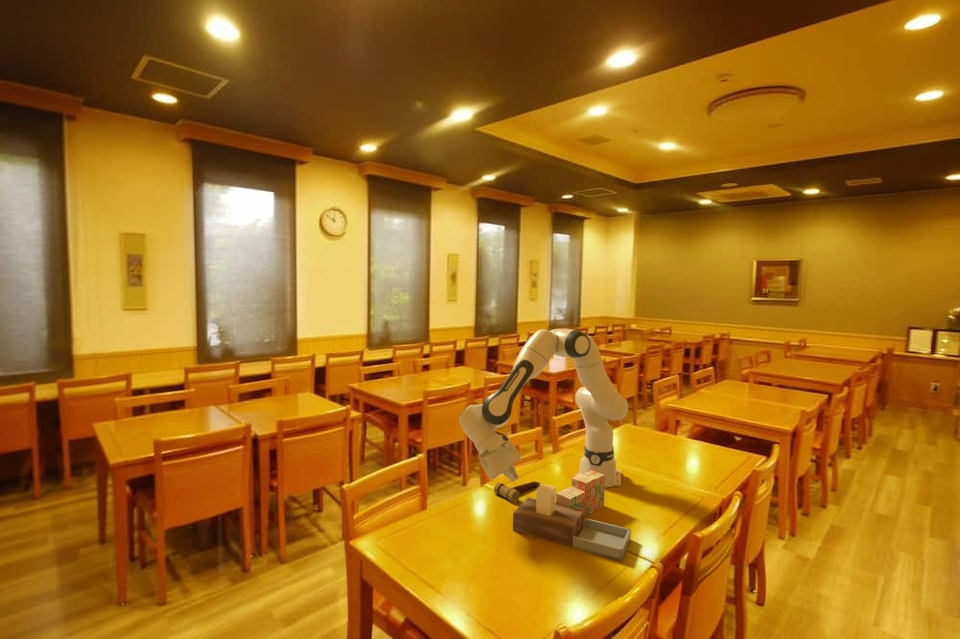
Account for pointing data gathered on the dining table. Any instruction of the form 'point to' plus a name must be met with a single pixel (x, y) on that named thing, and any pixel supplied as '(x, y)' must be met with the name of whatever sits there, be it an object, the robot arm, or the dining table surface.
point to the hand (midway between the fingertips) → (516, 479)
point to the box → (603, 539)
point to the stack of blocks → (584, 493)
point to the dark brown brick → (548, 522)
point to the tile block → (545, 499)
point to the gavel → (513, 490)
